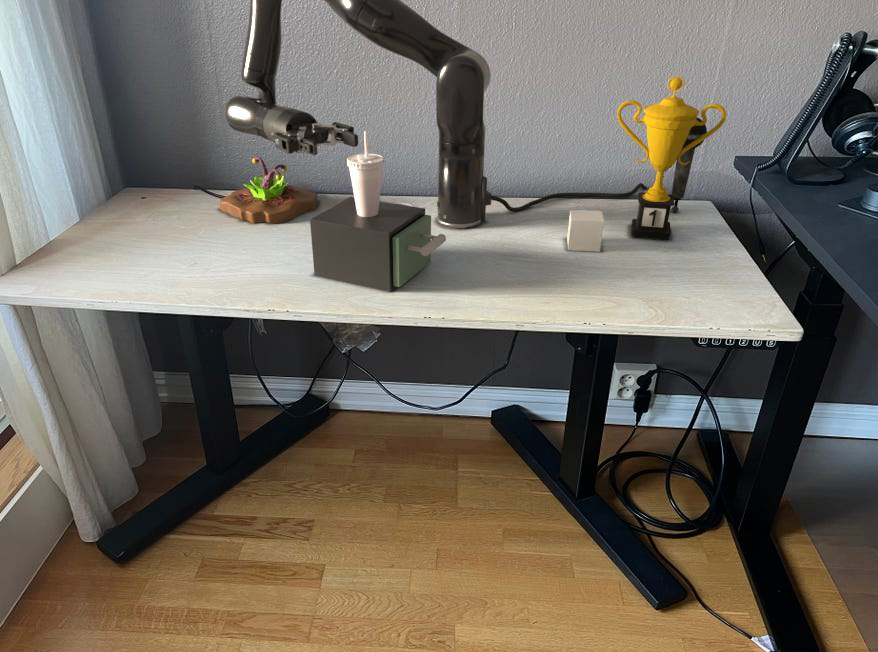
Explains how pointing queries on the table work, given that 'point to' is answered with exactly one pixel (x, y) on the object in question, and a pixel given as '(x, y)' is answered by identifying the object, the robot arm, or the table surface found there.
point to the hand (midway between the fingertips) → (336, 145)
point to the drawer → (413, 249)
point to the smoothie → (366, 180)
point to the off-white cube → (585, 230)
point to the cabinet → (358, 242)
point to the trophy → (664, 154)
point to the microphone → (684, 170)
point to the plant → (268, 198)
